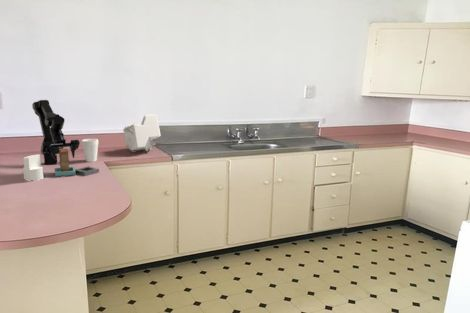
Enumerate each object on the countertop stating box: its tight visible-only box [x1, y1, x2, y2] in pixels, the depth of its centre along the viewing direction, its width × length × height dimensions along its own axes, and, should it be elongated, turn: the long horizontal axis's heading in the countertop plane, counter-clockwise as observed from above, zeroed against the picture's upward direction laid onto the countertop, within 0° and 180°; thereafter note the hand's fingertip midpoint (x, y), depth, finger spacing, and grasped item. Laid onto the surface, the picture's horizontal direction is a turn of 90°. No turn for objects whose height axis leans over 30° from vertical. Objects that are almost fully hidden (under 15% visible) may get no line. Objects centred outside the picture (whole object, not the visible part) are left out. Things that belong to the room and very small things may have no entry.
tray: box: [54, 166, 76, 178], centre depth 209 cm, size 10×10×2 cm
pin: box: [58, 147, 70, 172], centre depth 207 cm, size 4×4×13 cm
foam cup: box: [81, 138, 99, 163], centre depth 239 cm, size 10×9×13 cm
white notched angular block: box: [122, 113, 162, 153], centre depth 267 cm, size 20×16×25 cm
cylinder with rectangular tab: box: [22, 153, 44, 181], centre depth 198 cm, size 9×9×12 cm
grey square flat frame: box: [75, 166, 100, 177], centre depth 213 cm, size 9×9×2 cm
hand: (64, 158), depth 206 cm, fingers open, 9 cm apart
